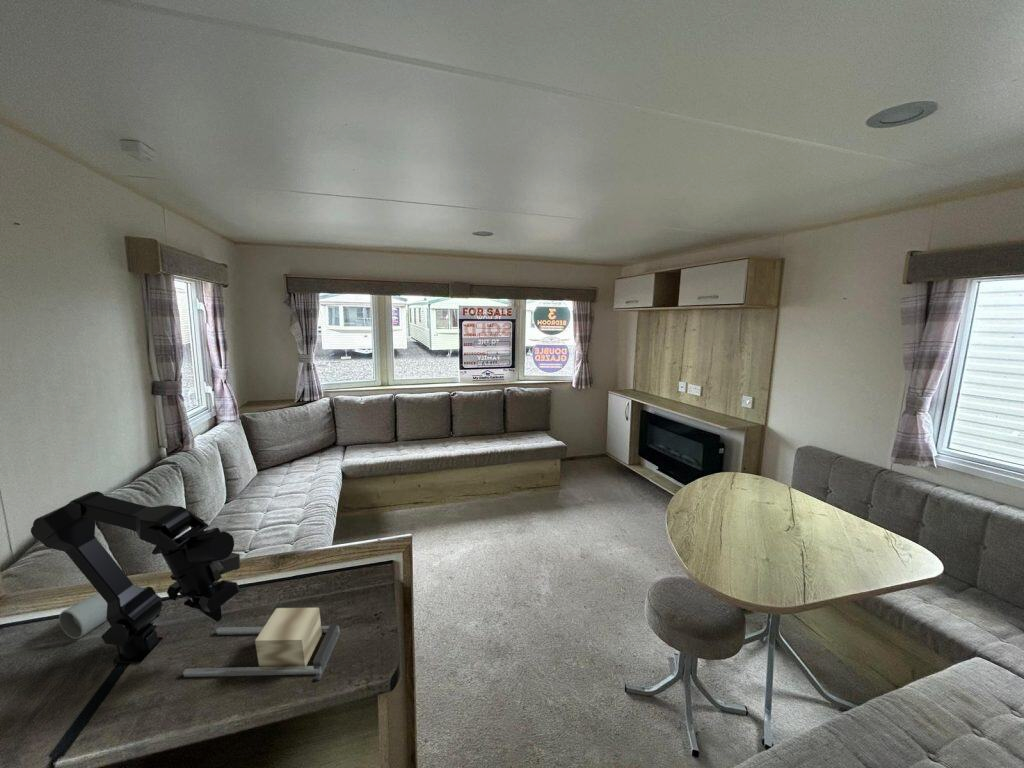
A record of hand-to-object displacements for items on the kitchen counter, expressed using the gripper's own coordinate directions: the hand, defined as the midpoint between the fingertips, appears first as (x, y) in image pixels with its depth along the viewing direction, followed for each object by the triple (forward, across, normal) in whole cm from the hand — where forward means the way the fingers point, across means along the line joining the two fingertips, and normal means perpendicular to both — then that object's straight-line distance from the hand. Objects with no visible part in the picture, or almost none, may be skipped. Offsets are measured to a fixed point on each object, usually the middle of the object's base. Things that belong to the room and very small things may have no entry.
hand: (218, 620), depth 91 cm
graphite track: (+13, -6, -3) cm, 14 cm away
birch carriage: (+13, -11, -6) cm, 18 cm away
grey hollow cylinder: (0, +41, +11) cm, 42 cm away
